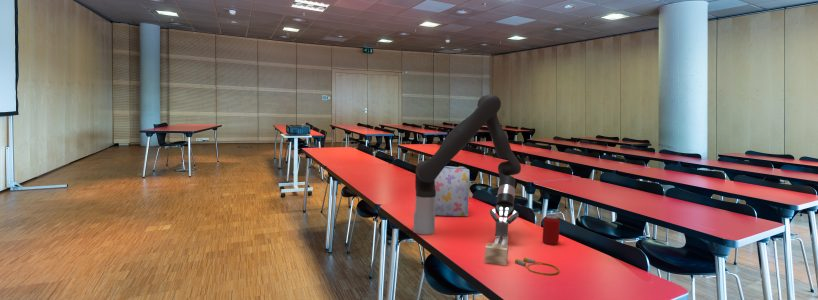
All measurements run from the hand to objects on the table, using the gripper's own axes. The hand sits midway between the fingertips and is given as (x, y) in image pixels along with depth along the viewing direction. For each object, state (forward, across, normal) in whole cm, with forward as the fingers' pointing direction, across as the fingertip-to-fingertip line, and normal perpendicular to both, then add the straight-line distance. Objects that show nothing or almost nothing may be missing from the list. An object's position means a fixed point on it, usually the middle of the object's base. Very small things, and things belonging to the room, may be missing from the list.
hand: (501, 230), depth 183 cm
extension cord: (+19, +16, -9) cm, 26 cm away
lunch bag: (-29, -34, +39) cm, 59 cm away
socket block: (+19, 0, -9) cm, 21 cm away
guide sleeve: (+7, 0, +3) cm, 7 cm away
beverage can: (-5, +20, +14) cm, 25 cm away
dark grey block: (+10, 0, 0) cm, 10 cm away
